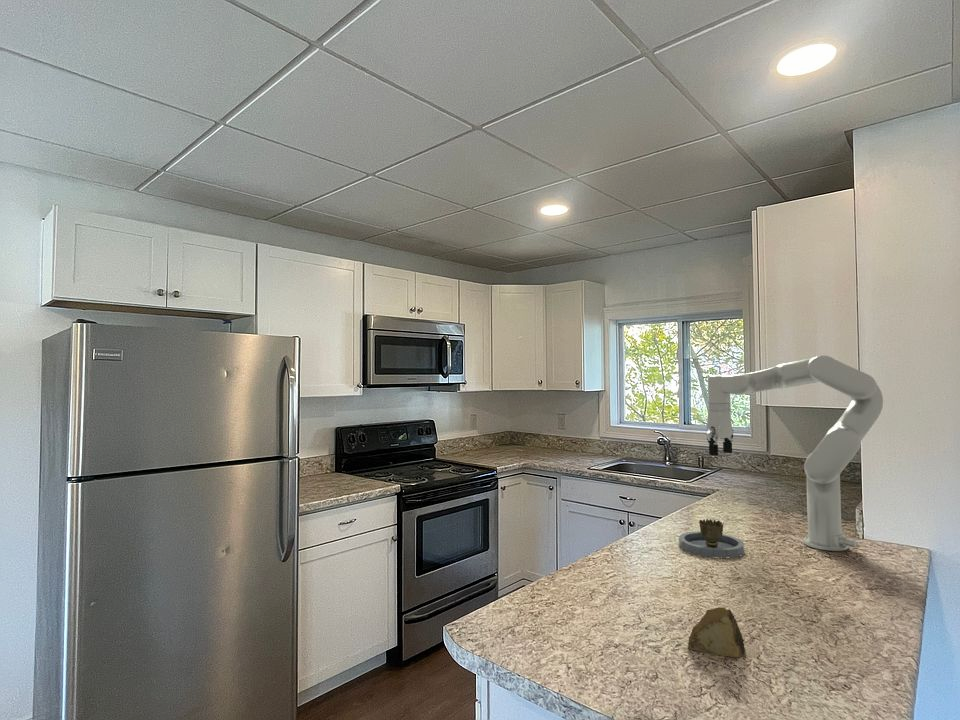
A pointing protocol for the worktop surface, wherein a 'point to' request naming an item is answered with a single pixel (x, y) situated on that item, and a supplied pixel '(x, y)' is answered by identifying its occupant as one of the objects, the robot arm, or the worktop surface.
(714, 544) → the cup
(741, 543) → the round dish
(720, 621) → the rock
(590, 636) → the worktop surface
